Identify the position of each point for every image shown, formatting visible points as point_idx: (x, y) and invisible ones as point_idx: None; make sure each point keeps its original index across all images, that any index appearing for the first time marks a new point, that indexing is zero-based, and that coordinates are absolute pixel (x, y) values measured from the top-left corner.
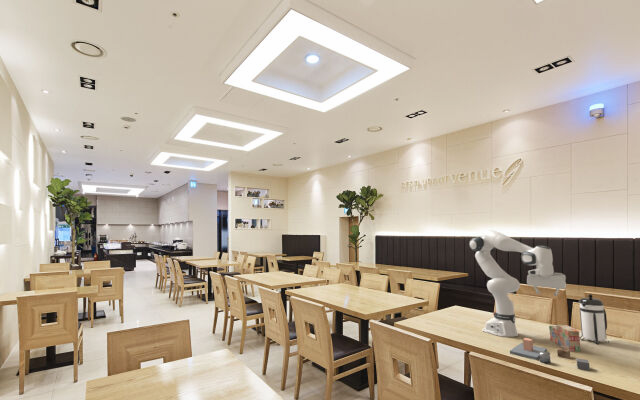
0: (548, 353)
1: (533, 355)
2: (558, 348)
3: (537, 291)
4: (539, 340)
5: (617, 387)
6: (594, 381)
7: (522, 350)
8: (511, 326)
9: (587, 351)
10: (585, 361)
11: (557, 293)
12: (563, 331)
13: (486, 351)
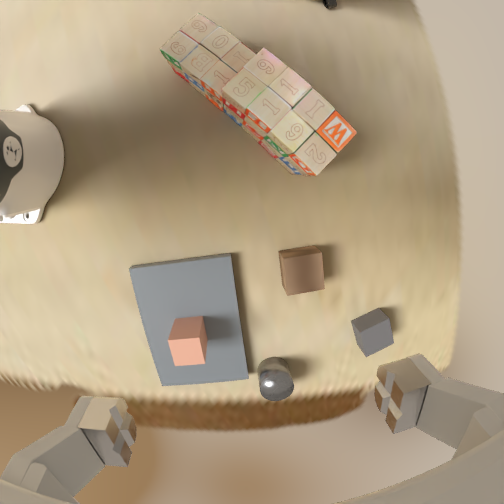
0: (288, 384)
1: (233, 371)
2: (286, 276)
3: (110, 456)
4: (146, 127)
5: None
6: None
7: None
8: (29, 179)
9: None
10: (384, 337)
11: (435, 376)
12: (275, 140)
13: None
